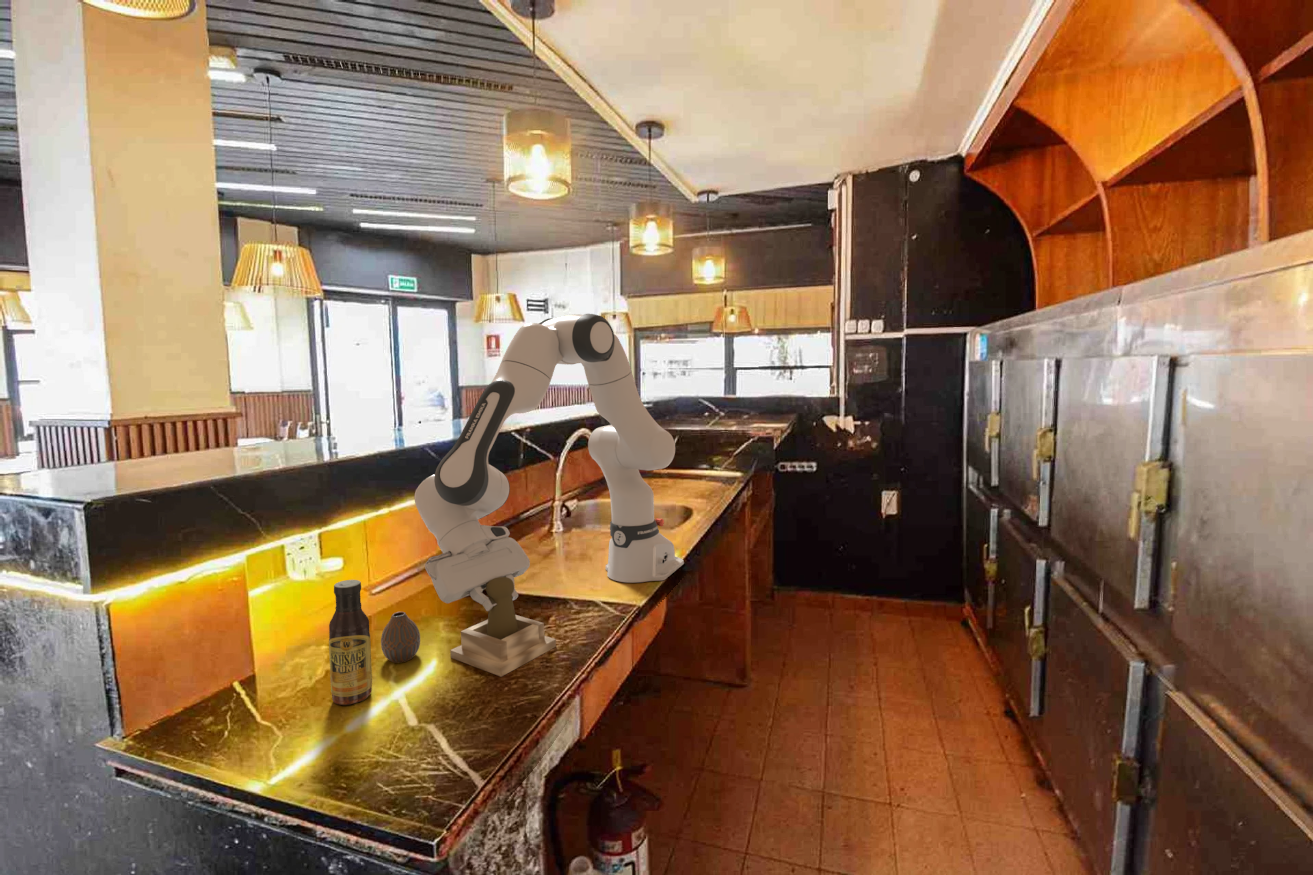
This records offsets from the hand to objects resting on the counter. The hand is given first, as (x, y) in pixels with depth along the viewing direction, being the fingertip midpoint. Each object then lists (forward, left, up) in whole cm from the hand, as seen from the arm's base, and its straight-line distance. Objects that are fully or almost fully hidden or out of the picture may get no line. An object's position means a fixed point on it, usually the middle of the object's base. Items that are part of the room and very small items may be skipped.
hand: (503, 603), depth 119 cm
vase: (+12, -16, -10) cm, 22 cm away
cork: (0, -1, -6) cm, 7 cm away
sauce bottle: (+25, -10, -10) cm, 29 cm away
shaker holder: (0, -1, -10) cm, 10 cm away
